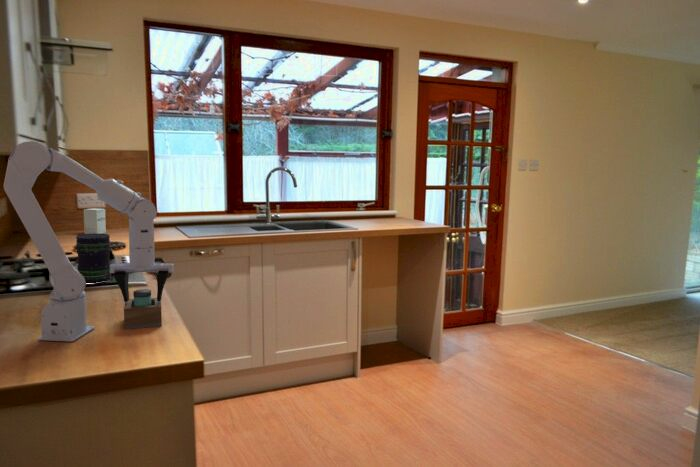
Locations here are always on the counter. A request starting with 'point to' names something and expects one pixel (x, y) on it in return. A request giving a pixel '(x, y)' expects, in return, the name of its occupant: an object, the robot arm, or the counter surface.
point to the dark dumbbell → (160, 260)
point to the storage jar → (94, 257)
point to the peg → (142, 297)
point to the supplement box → (94, 221)
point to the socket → (142, 315)
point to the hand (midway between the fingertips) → (143, 300)
